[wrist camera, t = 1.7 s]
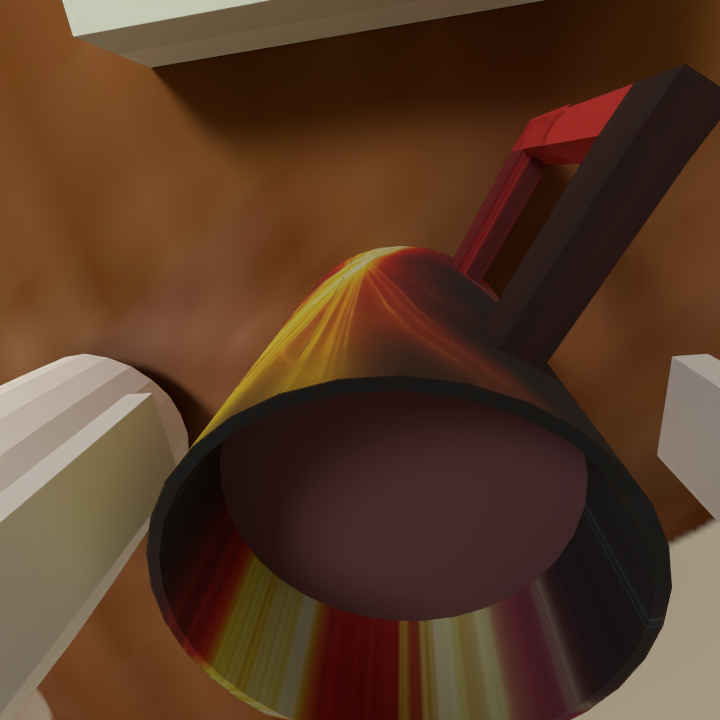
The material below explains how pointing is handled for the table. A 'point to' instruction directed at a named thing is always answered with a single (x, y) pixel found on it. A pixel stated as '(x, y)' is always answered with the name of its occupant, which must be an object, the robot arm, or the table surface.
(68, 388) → the cup
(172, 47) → the tray
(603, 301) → the table surface
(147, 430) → the robot arm
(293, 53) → the table surface
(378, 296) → the mug
